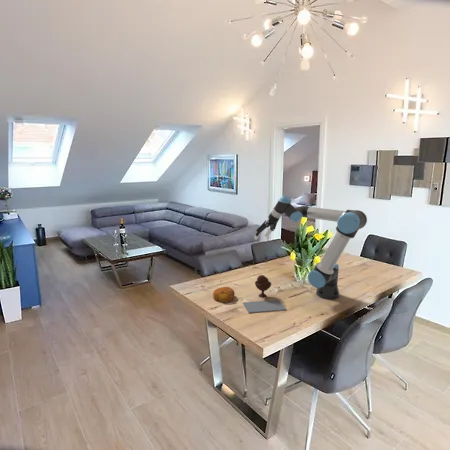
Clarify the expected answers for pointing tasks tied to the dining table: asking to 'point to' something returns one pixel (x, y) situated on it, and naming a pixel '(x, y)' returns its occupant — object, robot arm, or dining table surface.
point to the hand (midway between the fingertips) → (260, 237)
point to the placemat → (264, 306)
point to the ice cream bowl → (262, 285)
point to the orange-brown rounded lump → (223, 294)
